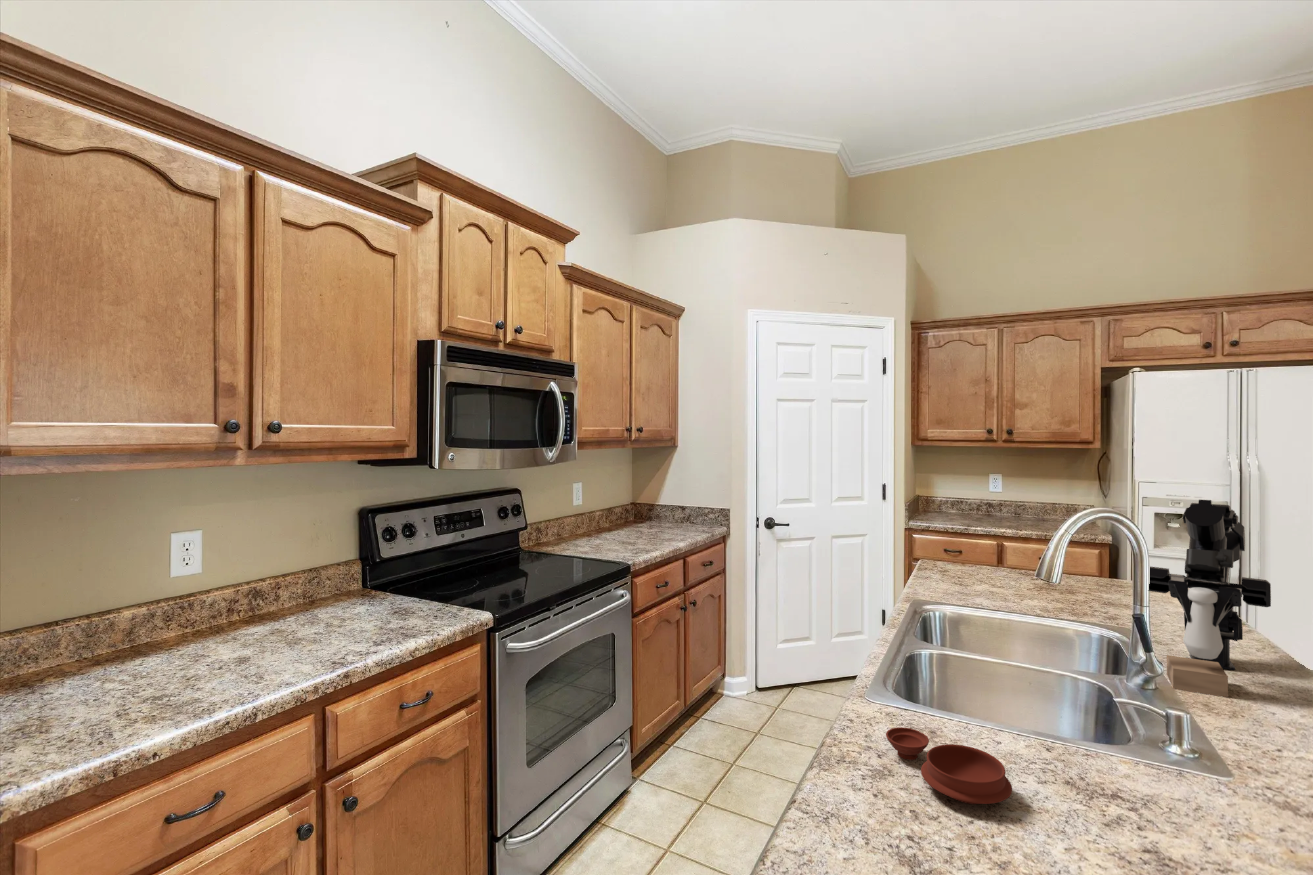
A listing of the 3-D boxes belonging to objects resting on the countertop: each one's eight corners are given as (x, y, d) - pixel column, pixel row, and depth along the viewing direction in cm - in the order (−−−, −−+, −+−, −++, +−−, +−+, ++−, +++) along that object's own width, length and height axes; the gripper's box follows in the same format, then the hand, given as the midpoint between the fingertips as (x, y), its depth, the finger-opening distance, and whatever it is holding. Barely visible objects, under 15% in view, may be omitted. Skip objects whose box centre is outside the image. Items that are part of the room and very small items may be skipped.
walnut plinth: (1166, 674, 128) (1166, 655, 128) (1218, 682, 124) (1218, 662, 124) (1173, 688, 122) (1173, 668, 122) (1228, 697, 117) (1227, 676, 117)
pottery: (970, 827, 82) (970, 794, 82) (864, 754, 100) (864, 727, 100) (1031, 804, 87) (1031, 772, 86) (919, 738, 105) (919, 712, 105)
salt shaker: (1212, 650, 123) (1212, 585, 122) (1229, 662, 117) (1230, 593, 117) (1176, 648, 124) (1176, 584, 124) (1192, 659, 119) (1192, 592, 118)
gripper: (1144, 527, 129) (1135, 592, 122) (1270, 537, 116) (1269, 611, 109) (1150, 557, 135) (1142, 621, 128) (1271, 571, 122) (1270, 642, 115)
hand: (1201, 623), depth 120 cm, fingers closed on salt shaker, 3 cm apart
